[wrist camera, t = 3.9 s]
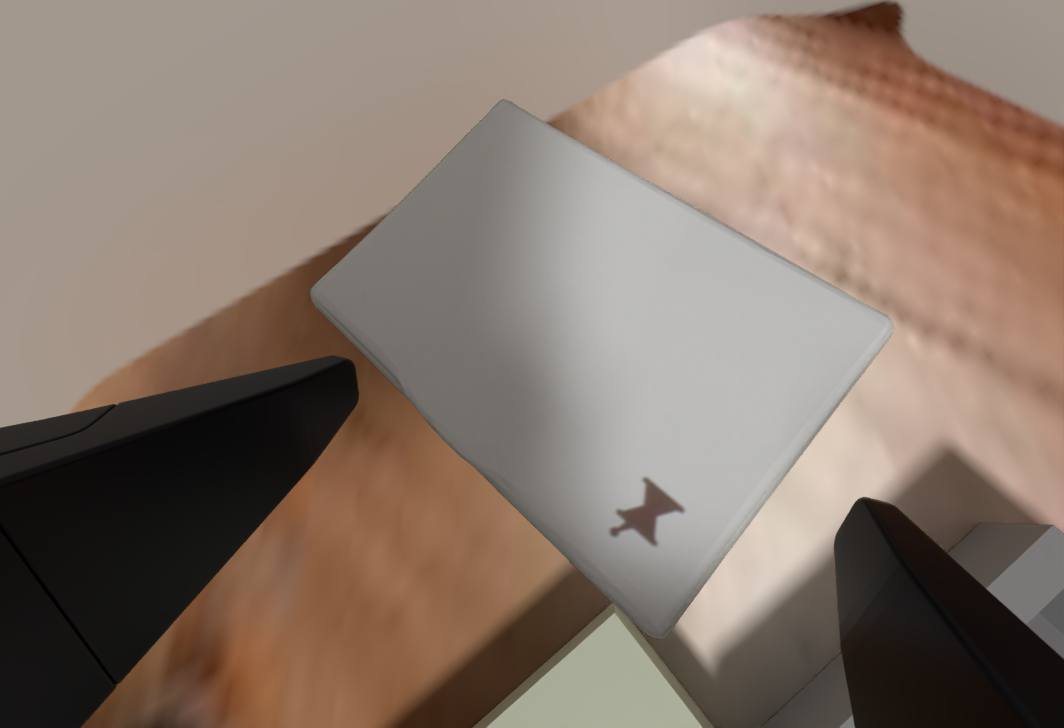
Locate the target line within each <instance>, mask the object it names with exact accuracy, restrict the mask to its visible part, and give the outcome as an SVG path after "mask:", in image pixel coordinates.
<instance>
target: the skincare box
mask: <svg viewBox="0 0 1064 728" xmlns="http://www.w3.org/2000/svg"><path fill="white" fill-rule="evenodd" d="M310 298H311V300H312V302H313V304H314V306H315V307H316V308H317V309H318V310H319V311H320V312H321V313H322V314H323V315H324V316H325V317H326V318H327V319H328V320H329V321H330V322H331V323H332V324H333V325H334V326H335V327H336V328H337V329H338V330H339V331H341V332H342V333H343V334H344V335H345V336H346V337H347V338H348V339H349V340H350V341H351V342H352V343H353V344H354V345H355V346H356V347H357V348H358V349H359V350H360V351H361V352H362V353H363V354H364V355H365V356H366V357H367V358H368V359H369V360H370V361H371V362H372V363H373V364H374V365H375V366H376V367H377V369H378V370H379V371H380V372H381V373H382V374H383V375H384V376H385V377H386V378H387V379H388V380H389V381H390V382H391V383H392V384H393V385H394V386H395V387H396V388H397V389H398V390H399V391H400V392H401V393H402V394H403V395H404V396H405V397H406V398H407V399H408V400H409V401H410V402H411V403H412V404H413V405H414V407H415V408H416V409H417V410H418V412H419V413H420V414H421V415H422V417H423V418H424V419H425V420H426V421H427V423H428V424H429V425H430V426H431V427H432V428H433V429H434V430H435V431H436V433H437V434H438V435H439V436H440V437H441V438H442V439H443V440H444V441H445V442H446V443H447V444H448V445H449V446H450V447H451V448H452V449H453V450H454V451H455V452H456V453H457V454H458V455H459V456H460V457H462V458H463V459H464V460H466V461H467V462H468V463H470V464H471V465H472V466H473V467H474V468H475V469H476V470H477V471H479V472H480V473H481V474H482V475H483V476H484V478H485V479H486V480H487V481H488V482H489V483H490V484H491V485H492V486H493V487H494V488H495V489H496V490H497V491H498V492H499V493H500V494H501V495H502V496H503V497H504V498H505V499H506V500H507V501H508V502H510V503H511V504H512V505H513V506H514V507H515V508H516V509H517V510H518V511H519V512H520V513H521V514H522V515H523V516H524V517H525V518H526V519H527V520H528V521H529V522H530V523H531V524H532V525H533V526H534V527H535V528H536V529H537V530H538V531H539V532H540V533H541V534H542V535H543V536H544V537H546V538H547V539H548V540H549V541H550V542H551V543H552V544H553V545H554V546H555V547H556V548H557V549H558V550H559V551H560V552H561V553H562V554H563V555H564V556H565V557H566V558H567V559H568V560H569V561H570V562H571V563H572V564H573V565H574V566H575V567H576V568H577V569H578V570H579V571H580V572H581V573H582V574H583V575H584V576H585V577H586V578H587V579H588V580H589V581H590V582H591V583H593V584H594V585H595V586H596V587H597V588H598V589H599V590H600V591H601V592H602V593H603V594H604V595H605V596H606V597H607V598H608V599H609V600H610V601H611V602H612V603H613V604H614V605H615V606H617V607H618V608H619V609H620V610H621V611H622V612H623V613H624V614H625V615H626V616H627V617H628V618H629V619H630V620H631V621H632V622H633V623H634V624H636V625H637V626H638V627H639V628H640V629H641V630H642V631H643V632H644V633H645V634H647V635H649V636H651V637H654V638H656V639H661V638H665V637H666V636H668V635H669V633H670V632H671V630H672V629H673V627H674V626H675V624H676V623H677V622H678V620H679V619H680V617H681V616H682V615H683V613H684V612H685V611H686V609H687V608H688V606H689V605H690V604H691V602H692V601H693V600H694V598H695V597H696V596H697V594H698V593H699V591H700V590H701V589H702V587H703V586H704V585H705V583H706V582H707V581H708V579H709V578H710V576H711V575H712V574H713V572H714V571H715V570H716V568H717V567H718V566H719V564H720V563H721V562H722V560H723V559H724V557H725V556H726V555H727V553H728V552H729V551H730V549H731V548H732V547H733V545H734V544H735V543H736V541H737V540H738V539H739V537H740V536H741V535H742V533H743V532H744V531H745V529H746V528H747V527H748V525H749V524H750V523H751V521H752V520H753V519H754V517H755V516H756V515H757V513H758V512H759V511H760V509H761V508H762V507H763V505H764V504H765V503H766V501H767V500H768V499H769V497H770V496H771V495H772V493H773V492H774V491H775V489H776V488H777V487H778V485H779V484H780V483H781V481H782V480H783V479H784V477H785V476H786V475H787V473H788V472H789V471H790V469H791V468H792V467H793V465H794V464H795V463H796V461H797V460H798V459H799V457H800V456H801V455H802V454H803V452H804V451H805V450H806V448H807V447H808V446H809V444H810V443H811V442H812V440H813V439H814V438H815V436H816V435H817V434H818V432H819V431H820V430H821V428H822V427H823V426H824V424H825V423H826V422H827V420H828V419H829V418H830V416H831V415H832V414H833V412H834V411H835V410H836V408H837V407H838V406H839V404H840V403H841V402H842V401H843V399H844V398H845V397H846V395H847V394H848V393H849V391H850V390H851V389H852V387H853V386H854V385H855V383H856V382H857V381H858V380H859V378H860V377H861V376H862V374H863V373H864V372H865V370H866V369H867V368H868V366H869V365H870V364H871V362H872V361H873V360H874V359H875V357H876V356H877V355H878V353H879V352H880V351H881V349H882V348H883V347H884V345H885V344H886V343H887V341H888V340H889V338H890V337H891V335H892V333H893V331H894V329H895V327H894V323H893V322H892V321H891V319H890V318H889V317H888V316H887V315H885V314H883V313H882V312H880V311H878V310H876V309H874V308H872V307H870V306H868V305H867V304H865V303H863V302H861V301H859V300H857V299H856V298H854V297H852V296H850V295H849V294H847V293H845V292H844V291H842V290H840V289H838V288H837V287H835V286H833V285H831V284H830V283H828V282H826V281H824V280H823V279H821V278H819V277H817V276H816V275H814V274H812V273H810V272H808V271H807V270H805V269H803V268H801V267H800V266H798V265H796V264H794V263H793V262H791V261H789V260H787V259H786V258H784V257H782V256H780V255H779V254H777V253H775V252H774V251H772V250H770V249H768V248H767V247H765V246H763V245H762V244H760V243H758V242H756V241H754V240H753V239H751V238H749V237H747V236H745V235H744V234H742V233H740V232H738V231H737V230H735V229H733V228H731V227H729V226H728V225H726V224H724V223H722V222H720V221H719V220H717V219H715V218H713V217H712V216H710V215H708V214H706V213H704V212H703V211H701V210H699V209H697V208H695V207H694V206H692V205H690V204H688V203H686V202H685V201H683V200H681V199H679V198H677V197H676V196H674V195H672V194H670V193H668V192H667V191H665V190H663V189H661V188H659V187H658V186H656V185H654V184H652V183H650V182H649V181H647V180H645V179H643V178H642V177H640V176H638V175H636V174H634V173H633V172H631V171H629V170H627V169H625V168H624V167H622V166H620V165H618V164H617V163H615V162H613V161H612V160H610V159H608V158H606V157H605V156H603V155H601V154H600V153H598V152H596V151H594V150H593V149H591V148H589V147H587V146H586V145H584V144H582V143H580V142H579V141H577V140H575V139H573V138H571V137H570V136H568V135H566V134H564V133H563V132H561V131H559V130H557V129H555V128H554V127H552V126H550V125H548V124H547V123H545V122H543V121H542V120H540V119H538V118H536V117H535V116H533V115H532V114H530V113H528V112H526V111H525V110H523V109H521V108H520V107H518V106H517V105H515V104H514V103H512V102H510V101H508V100H504V99H503V100H501V101H499V102H498V103H497V104H496V105H495V106H494V107H493V109H492V110H491V111H490V112H489V113H488V114H487V115H486V116H485V117H484V118H483V119H482V120H481V121H480V122H479V123H478V124H477V125H476V126H475V127H474V128H473V129H472V130H471V131H470V132H469V133H468V134H467V135H466V136H465V137H464V138H463V139H462V140H461V141H460V142H459V143H458V144H457V145H456V146H455V147H454V148H453V149H452V150H451V151H450V152H449V153H448V155H446V156H445V157H444V158H443V160H442V161H441V162H440V163H439V164H438V165H437V166H436V167H435V168H434V169H433V170H432V171H431V172H430V173H429V174H428V175H427V176H426V177H425V178H424V179H423V180H422V181H421V182H420V183H419V184H418V185H417V186H416V187H415V188H414V189H413V190H412V191H411V192H410V193H409V194H408V195H407V196H406V197H405V198H404V199H403V200H402V201H401V202H400V203H399V204H398V205H397V206H396V207H395V208H394V209H393V210H392V211H391V212H390V213H389V214H388V215H387V216H386V217H385V218H384V219H383V220H382V221H381V222H380V223H379V224H378V225H377V226H376V227H375V228H374V229H373V230H372V231H371V232H370V233H369V234H368V235H367V236H366V237H365V238H364V239H363V240H361V241H360V242H359V243H358V244H357V245H356V246H355V247H354V248H353V249H352V250H351V251H350V252H349V253H348V254H347V255H346V256H345V257H344V258H343V259H342V260H341V261H340V262H339V263H337V264H336V265H335V266H334V267H333V268H332V269H331V270H330V271H329V272H328V273H327V274H326V275H324V276H323V277H322V278H321V279H320V280H319V281H318V282H317V283H316V284H315V285H314V286H313V287H312V289H311V290H310Z"/></svg>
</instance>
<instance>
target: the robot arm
mask: <svg viewBox="0 0 1064 728" xmlns="http://www.w3.org/2000/svg"><path fill="white" fill-rule="evenodd" d="M358 399H359V390H358V383H357V376H356V369H355V365H354V363H353V362H352V361H351V360H349V359H346V358H342V357H338V356H327V357H323V358H318V359H314V360H309V361H305V362H301V363H296V364H292V365H287V366H283V367H278V368H274V369H269V370H265V371H260V372H256V373H251V374H247V375H242V376H238V377H233V378H229V379H224V380H220V381H216V382H211V383H207V384H202V385H198V386H193V387H189V388H184V389H180V390H175V391H171V392H166V393H162V394H157V395H153V396H148V397H144V398H139V399H135V400H130V401H126V402H122V403H119V404H118V405H115V404H112V405H108V406H103V407H99V408H94V409H90V410H85V411H81V412H76V413H71V414H66V415H62V416H58V417H52V418H48V419H43V420H38V421H33V422H27V423H22V424H17V425H12V426H7V427H2V428H0V728H81V727H82V726H83V724H84V723H85V722H86V721H87V720H88V719H89V718H90V717H91V715H92V714H93V713H94V712H95V711H96V710H97V709H98V708H99V706H100V705H101V704H102V703H103V702H104V701H105V700H106V699H107V697H108V696H109V695H110V694H111V693H112V692H113V691H114V690H115V688H116V684H119V683H120V682H121V681H122V680H123V679H124V678H125V677H126V675H127V674H128V673H129V672H130V671H131V670H132V669H133V668H134V666H135V665H136V664H137V663H138V662H139V661H140V660H141V659H142V657H143V656H144V655H145V654H146V653H147V652H148V651H149V650H150V648H151V647H152V646H153V645H154V644H155V643H156V642H157V641H158V639H159V638H160V637H161V636H162V635H163V634H164V633H165V631H166V630H167V629H168V628H169V627H170V626H171V625H172V624H173V622H174V621H175V620H176V619H177V618H178V617H179V616H180V615H181V613H182V612H183V611H184V610H185V609H186V608H187V607H188V606H189V604H190V603H191V602H192V601H193V600H194V599H195V598H196V597H197V595H198V594H199V593H200V592H201V591H202V590H203V589H204V588H205V586H206V585H207V584H208V583H209V582H210V581H211V580H212V579H213V577H214V576H215V575H216V574H217V573H218V572H219V571H220V570H221V568H222V567H223V566H224V565H225V564H226V563H227V562H228V560H229V559H230V558H231V557H232V556H233V555H234V554H235V553H236V551H237V550H238V549H239V548H240V547H241V546H242V545H243V544H244V542H245V541H246V540H247V539H248V538H249V537H250V536H251V535H252V533H253V532H254V531H255V530H256V529H257V528H258V527H259V526H260V524H261V523H262V522H263V521H264V520H265V519H266V518H267V517H268V515H269V514H270V513H271V512H272V511H273V510H274V509H275V508H276V506H277V505H278V504H279V503H280V502H281V501H282V500H283V499H284V497H285V496H286V495H287V494H288V493H289V492H290V491H291V489H292V488H293V487H294V486H295V485H296V484H297V483H298V482H299V480H300V479H301V478H302V477H303V476H304V475H305V474H306V472H307V471H308V470H309V469H310V468H311V467H312V465H313V464H314V463H315V462H316V460H317V459H318V458H319V456H320V455H321V454H322V452H323V451H324V450H325V448H326V447H327V445H328V444H329V443H330V441H331V440H332V438H333V437H334V436H335V434H336V433H337V432H338V430H339V429H340V427H341V426H342V425H343V423H344V422H345V421H346V419H347V418H348V416H349V415H350V414H351V412H352V411H353V410H354V408H355V407H356V405H357V403H358ZM834 557H835V574H836V591H837V608H838V625H839V637H840V647H841V653H842V660H843V666H844V671H845V677H846V682H847V688H848V693H849V699H850V704H851V710H852V715H853V721H854V726H855V728H1064V658H1062V657H1061V656H1060V655H1059V654H1058V653H1057V652H1056V651H1055V650H1054V649H1053V648H1051V647H1050V646H1049V645H1048V644H1047V643H1046V642H1045V641H1044V640H1043V639H1041V638H1040V637H1039V636H1038V635H1037V634H1036V633H1035V632H1034V631H1033V630H1032V629H1030V628H1029V627H1028V626H1027V625H1026V624H1025V623H1024V622H1023V621H1022V620H1020V619H1019V618H1018V617H1017V616H1016V615H1015V614H1014V613H1013V612H1012V611H1011V610H1009V609H1008V608H1007V607H1006V606H1005V605H1004V604H1003V603H1002V602H1001V601H999V600H998V599H997V598H996V597H995V596H994V595H993V594H992V593H991V592H990V591H988V590H987V589H986V588H985V587H984V586H983V585H982V584H981V583H980V582H978V581H977V580H976V579H975V578H974V577H973V576H972V575H971V574H970V573H969V572H967V571H966V570H965V569H964V568H963V567H962V566H961V565H960V564H959V563H958V562H956V561H955V560H954V559H953V558H952V557H951V556H950V555H949V554H948V553H946V552H945V551H944V550H943V549H942V548H941V547H940V546H939V545H938V544H937V543H935V542H934V541H933V540H932V539H931V538H930V537H929V536H928V535H927V534H925V533H924V532H923V531H922V530H921V529H920V528H919V527H918V526H917V525H916V524H914V523H913V522H912V521H911V520H910V519H909V518H908V517H907V516H906V515H904V514H903V513H902V512H901V511H900V510H899V509H898V508H897V507H895V506H894V505H892V504H890V503H886V502H883V501H879V500H875V499H871V498H867V497H862V498H859V499H858V500H857V501H856V502H855V503H854V505H853V506H852V508H851V510H850V511H849V513H848V515H847V517H846V518H845V520H844V522H843V523H842V525H841V527H840V528H839V530H838V532H837V534H836V537H835V541H834Z"/></svg>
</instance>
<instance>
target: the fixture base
mask: <svg viewBox="0 0 1064 728" xmlns="http://www.w3.org/2000/svg"><path fill="white" fill-rule="evenodd" d="M948 554H949V555H950V556H951V557H952V558H953V559H954V560H955V561H956V562H958V563H959V564H960V565H961V566H962V567H963V568H964V569H965V570H966V571H967V572H969V573H970V574H971V575H972V576H973V577H974V578H975V579H976V580H977V581H978V582H980V583H981V584H982V585H983V586H984V587H985V588H986V589H987V590H988V591H990V592H991V593H992V594H993V595H994V596H995V597H996V598H997V599H998V600H999V601H1001V602H1002V603H1003V604H1004V605H1005V606H1006V607H1007V608H1008V609H1009V610H1011V611H1012V612H1013V613H1014V614H1015V615H1016V616H1017V617H1018V618H1019V619H1020V620H1022V621H1023V622H1024V623H1025V624H1026V625H1027V626H1028V627H1029V628H1030V629H1032V630H1033V631H1034V632H1035V633H1036V634H1037V635H1038V636H1039V637H1040V638H1041V639H1043V640H1044V641H1045V642H1046V643H1047V644H1048V645H1049V646H1050V647H1051V648H1053V649H1054V650H1055V651H1056V652H1057V653H1058V654H1059V655H1060V656H1061V657H1062V658H1064V533H1062V532H1061V531H1060V530H1059V529H1058V528H1056V527H1055V526H1054V525H1038V524H1010V523H982V522H981V523H980V524H979V525H977V526H976V527H975V528H974V529H973V530H972V531H971V532H970V533H969V534H968V535H967V536H966V537H965V538H964V539H962V540H961V541H960V542H959V543H958V544H957V545H956V546H955V547H954V548H953V549H952V550H951V551H950V552H948ZM472 728H714V726H713V725H712V724H711V723H710V721H709V720H708V719H707V717H706V716H705V715H704V714H703V712H702V711H701V710H700V708H699V707H698V706H697V705H696V703H695V702H694V701H693V699H692V698H691V697H690V696H689V694H688V693H687V692H686V690H685V689H684V688H683V686H682V685H681V684H680V683H679V681H678V680H677V679H676V677H675V676H674V675H673V674H672V672H671V671H670V670H669V668H668V667H667V666H666V665H665V663H664V662H663V661H662V659H661V658H660V657H659V656H658V654H657V653H656V652H655V650H654V649H653V648H652V647H651V645H650V644H649V643H648V641H647V640H646V639H645V637H644V636H643V635H642V634H641V632H640V631H639V630H638V628H637V627H636V626H635V625H634V623H633V622H632V621H631V620H630V619H629V618H628V617H627V616H626V615H625V614H624V613H623V612H622V611H621V610H620V609H619V608H618V607H617V606H615V605H614V604H613V603H612V604H610V605H609V606H608V607H607V608H606V609H605V610H604V611H603V612H601V613H600V614H599V615H598V616H597V617H596V618H595V619H594V620H592V621H591V622H590V623H589V624H588V625H587V626H586V627H585V628H584V629H582V630H581V631H580V632H579V633H578V634H577V635H576V636H575V637H573V638H572V639H571V640H570V641H569V642H568V643H567V644H566V645H564V646H563V647H562V648H561V649H560V650H559V651H558V652H557V653H555V654H554V655H553V656H552V657H551V658H550V659H549V660H548V661H546V662H545V663H544V664H543V665H542V666H541V667H540V668H539V669H538V670H536V671H535V672H534V673H533V674H532V675H531V676H530V677H529V678H527V679H526V680H525V681H524V682H523V683H522V684H521V685H520V686H518V687H517V688H516V689H515V690H514V691H513V692H512V693H511V694H509V695H508V696H507V697H506V698H505V699H504V700H503V701H502V702H501V703H499V704H498V705H497V706H496V707H495V708H494V709H493V710H492V711H490V712H489V713H488V714H487V715H486V716H485V717H484V718H483V719H481V720H480V721H479V722H478V723H477V724H476V725H475V726H474V727H472ZM761 728H855V726H854V721H853V715H852V710H851V704H850V699H849V693H848V688H847V682H846V677H845V671H844V666H843V660H842V653H840V654H839V655H838V656H837V657H836V658H835V659H834V660H833V661H832V662H831V663H830V664H828V665H827V666H826V667H825V668H824V669H823V670H822V671H821V672H820V673H819V674H818V675H817V676H816V677H814V678H813V679H812V680H811V681H810V682H809V683H808V684H807V685H806V686H805V687H804V688H803V689H802V690H801V691H799V692H798V693H797V694H796V695H795V696H794V697H793V698H792V699H791V700H790V701H789V702H788V703H787V704H786V705H784V706H783V707H782V708H781V709H780V710H779V711H778V712H777V713H776V714H775V715H774V716H773V717H772V718H771V719H769V720H768V721H767V722H766V723H765V724H764V725H763V726H762V727H761Z"/></svg>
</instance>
